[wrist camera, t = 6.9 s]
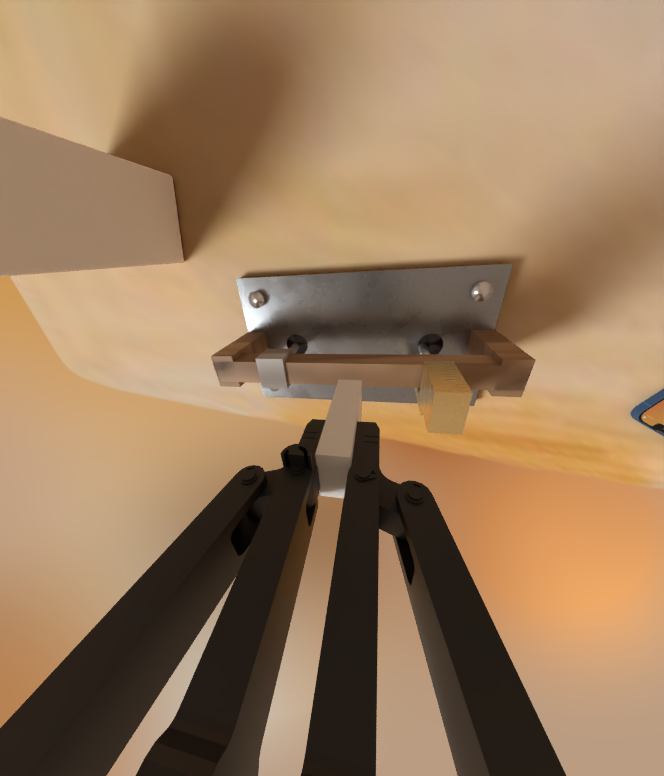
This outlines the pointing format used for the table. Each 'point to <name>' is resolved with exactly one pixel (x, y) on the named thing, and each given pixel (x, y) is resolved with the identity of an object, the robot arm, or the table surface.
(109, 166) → the milk carton
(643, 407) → the smartphone
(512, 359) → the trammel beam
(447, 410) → the slider
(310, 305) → the flange plate
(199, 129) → the table surface
